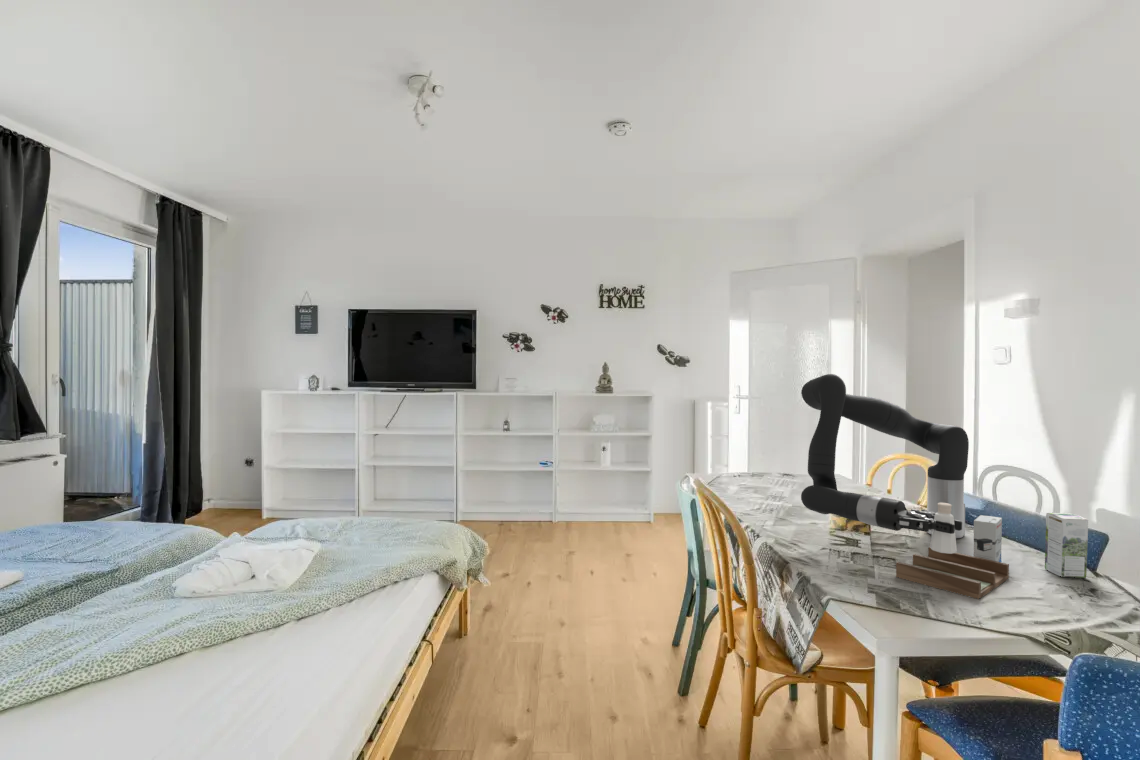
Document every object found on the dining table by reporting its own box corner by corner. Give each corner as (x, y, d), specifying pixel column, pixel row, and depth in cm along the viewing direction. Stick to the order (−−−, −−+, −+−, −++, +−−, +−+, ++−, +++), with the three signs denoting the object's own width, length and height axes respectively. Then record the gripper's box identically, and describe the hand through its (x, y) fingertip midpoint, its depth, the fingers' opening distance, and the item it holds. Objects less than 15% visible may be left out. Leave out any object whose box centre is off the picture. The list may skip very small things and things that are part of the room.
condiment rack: (930, 560, 151) (930, 546, 151) (1008, 578, 137) (1008, 564, 137) (896, 576, 139) (896, 562, 139) (978, 599, 125) (978, 583, 125)
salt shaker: (946, 546, 138) (947, 501, 138) (962, 554, 132) (964, 506, 132) (924, 546, 138) (925, 500, 137) (939, 554, 132) (941, 506, 132)
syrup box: (1068, 570, 143) (1069, 512, 143) (1087, 578, 137) (1088, 518, 137) (1044, 569, 144) (1044, 511, 143) (1061, 578, 138) (1062, 517, 137)
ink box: (979, 558, 152) (979, 514, 152) (1002, 562, 149) (1002, 517, 149) (972, 565, 146) (972, 519, 146) (995, 570, 143) (996, 523, 143)
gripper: (867, 501, 142) (946, 516, 128) (893, 493, 150) (969, 507, 137) (867, 531, 142) (945, 549, 128) (893, 522, 151) (969, 538, 137)
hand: (957, 527), depth 133 cm, fingers closed on salt shaker, 4 cm apart
